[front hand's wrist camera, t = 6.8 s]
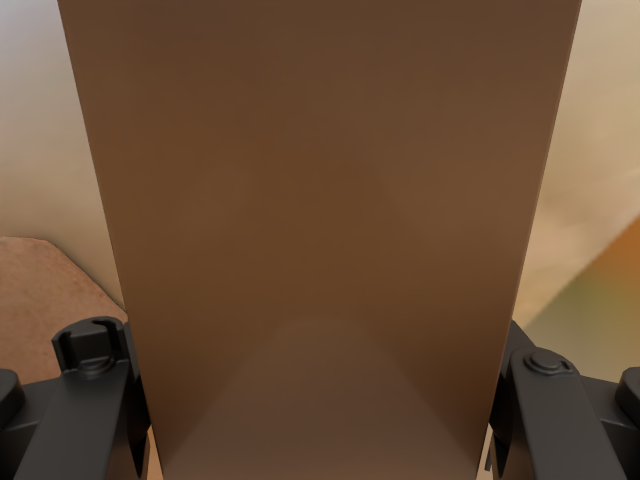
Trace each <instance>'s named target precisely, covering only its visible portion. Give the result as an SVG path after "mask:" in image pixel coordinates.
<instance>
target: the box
mask: <svg viewBox="0 0 640 480" xmlns="http://www.w3.org/2000/svg"><path fill="white" fill-rule="evenodd" d="M57 1H58V6H59V10H60V15H61V19H62V24H63V28H64V33H65V37H66V42H67V46H68V51H69V55H70V60H71V64H72V69H73V73H74V78H75V82H76V87H77V91H78V96H79V100H80V105H81V109H82V114H83V118H84V123H85V127H86V132H87V136H88V141H89V145H90V150H91V155H92V159H93V164H94V168H95V173H96V177H97V182H98V186H99V191H100V195H101V200H102V204H103V209H104V213H105V218H106V222H107V227H108V231H109V236H110V240H111V245H112V249H113V254H114V258H115V263H116V267H117V272H118V276H119V281H120V285H121V290H122V294H123V299H124V303H125V308H126V312H127V317H128V321H129V326H130V330H131V335H132V339H133V344H134V348H135V353H136V358H137V362H138V367H139V371H140V376H141V380H142V385H143V389H144V394H145V398H146V403H147V407H148V412H149V416H150V421H151V425H152V430H153V434H154V439H155V443H156V448H157V452H158V457H159V461H160V466H161V470H162V475H163V479H164V480H476V477H477V472H478V468H479V464H480V459H481V455H482V450H483V446H484V441H485V436H486V432H487V427H488V423H489V419H490V414H491V409H492V405H493V400H494V396H495V391H496V387H497V382H498V378H499V373H500V369H501V364H502V360H503V355H504V351H505V346H506V342H507V337H508V333H509V328H510V324H511V319H512V314H513V310H514V305H515V301H516V296H517V292H518V287H519V283H520V278H521V274H522V269H523V265H524V260H525V256H526V251H527V247H528V242H529V238H530V233H531V229H532V224H533V219H534V215H535V210H536V206H537V201H538V197H539V192H540V188H541V183H542V179H543V174H544V170H545V165H546V161H547V156H548V152H549V147H550V143H551V138H552V134H553V129H554V124H555V120H556V115H557V111H558V106H559V102H560V97H561V93H562V88H563V84H564V79H565V75H566V70H567V66H568V61H569V57H570V52H571V48H572V43H573V39H574V34H575V30H576V25H577V20H578V16H579V11H580V7H581V2H582V0H57Z"/></svg>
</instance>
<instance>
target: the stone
mask: <svg viewBox="0 0 640 480" xmlns="http://www.w3.org/2000/svg"><path fill="white" fill-rule="evenodd" d="M98 316H110V317H115V318H118V319H119V320H120V321H122V323H123V325H124V324H125V322H128V317H127V314H126V313H125V312H124V311H123V310H122V309H120V308H119V307H118V306H117V305H116V304H115V303H114V302H113V301H112V300H111V299H110V298H109V297H108V296H107V295H106V294H105V293H104V292H103V290H102V289H101V288H100V287H99V286H98V285H97V284H95V283H94V282H93V281H92V280H91V279H90V278H89V277H88V276H87V275H86V274H85V273H84V272H83V271H82V270H81V269H80V268H79V267H77V266H76V265H75V264H74V263H73V262H72V261H71V260H70V259H69V258H68V257H67V256H66V255H65V254H64V253H63V252H62V251H60V250H59V249H58V248H57V247H55V246H54V245H53V244H51V243H50V242H49V241H44V240H39V239H34V238H22V237H4V236H0V368H1V369H11V370H13V371H14V372H16V373H17V374H18V377H19V380H20V382H21V385H24V384H29V383H34V382H39V381H44V380H48V379H53V378H57V377H59V376H60V374H61V370H60V367H59V364H58V361H57V358H56V354H55V351H54V348H53V345H52V342H51V339H52V338H53V337H54V336H55V334H56V333H57V332H59V331H60V330H62V329H63V328H65V327H66V326H68V325H70V324H73V323H75V322H77V321H80V320H83V319H87V318H91V317H98Z"/></svg>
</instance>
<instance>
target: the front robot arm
mask: <svg viewBox="0 0 640 480" xmlns="http://www.w3.org/2000/svg"><path fill="white" fill-rule="evenodd" d="M51 342H52V345H53V348H54V351H55V354H56V358H57V361H58V364H59V367H60V370H61V374H60V376H59V377H57V378H53V379H48V380H44V381H39V382H34V383H29V384H24V385H21V382H20V380H19V377H18V374H17V373H16V372H14V371H13V370H11V369H1V368H0V480H147V473H148V463H149V454H150V442H149V437H148V432H147V431H148V429H149V427H150V425H151V421H150V416H149V412H148V407H147V403H146V398H145V394H144V389H143V385H142V380H141V376H140V371H139V367H138V362H137V358H136V353H135V348H134V344H133V339H132V335H131V330H130V326H129V321H128V322H125V324H124V325H123V323H122V321H120V320H119V319H118V318H115V317H110V316H98V317H91V318H87V319H83V320H80V321H77V322H75V323H73V324H70V325H68V326H66V327H65V328H63V329H62V330H60V331H59V332H57V333H56V334H55V336H54V337H53V338H52V339H51ZM489 424H490V425H491V428H492V429H493V432H492V437H491V441H490V445H489V450H488V454H487V459H486V463H485V470H486V471H490V467H491V463H492V472H493V480H640V367H632V368H628V369H627V370H625V371H624V372H623V373H622V376H621V379H620V382H619V383H614V382H609V381H604V380H600V379H595V378H590V377H586V376H582V375H580V373H579V372H578V370H577V369H576V368H575V366H574V365H573V364H572V363H571V362H570V361H568V360H567V359H566V358H564V357H563V356H561V355H559V354H557V353H555V352H552V351H550V350H547V349H543V348H540V347H536V346H535V345H534V344H533V342H532V341H531V340H530V339H529V338H528V336H527V335H526V334H525V333H524V332H523V331H522V329H521V328H520V327H519V326H518V325H517V323H516V322H515V321H513V320H512V319H511V324H510V328H509V333H508V337H507V342H506V346H505V351H504V355H503V360H502V364H501V369H500V373H499V378H498V382H497V387H496V391H495V396H494V400H493V405H492V409H491V414H490V419H489Z"/></svg>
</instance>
